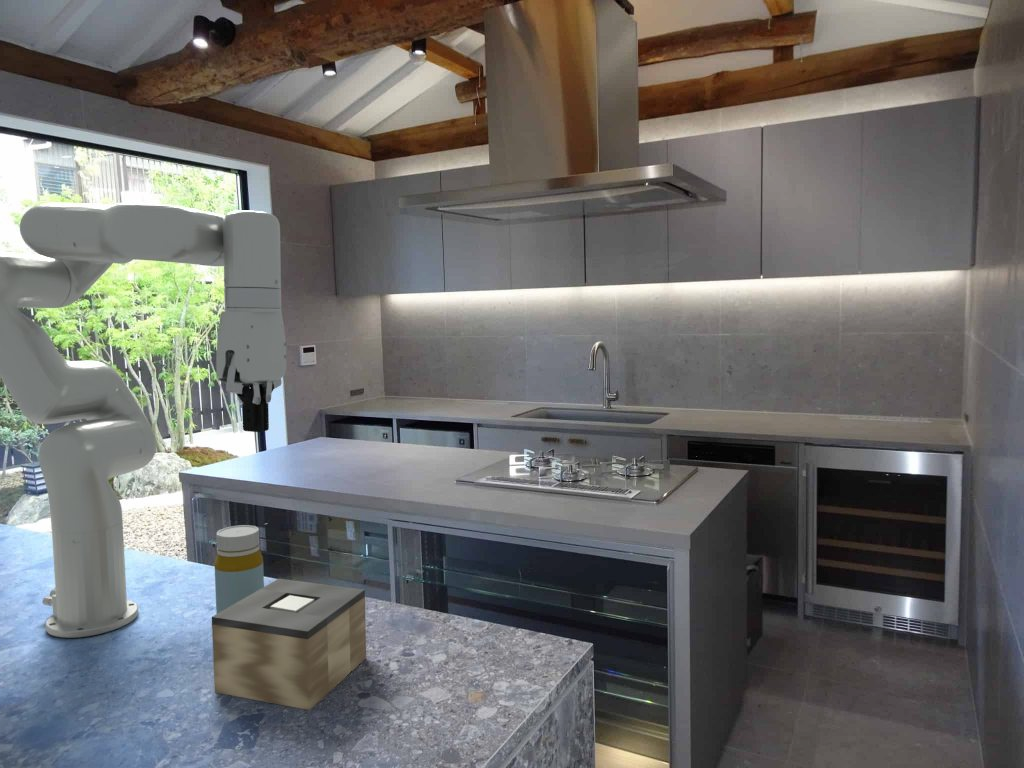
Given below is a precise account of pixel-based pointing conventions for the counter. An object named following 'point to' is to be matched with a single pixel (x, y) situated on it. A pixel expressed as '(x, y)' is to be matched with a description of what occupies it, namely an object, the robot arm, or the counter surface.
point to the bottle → (237, 565)
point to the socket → (289, 643)
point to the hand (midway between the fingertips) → (255, 430)
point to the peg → (292, 604)
